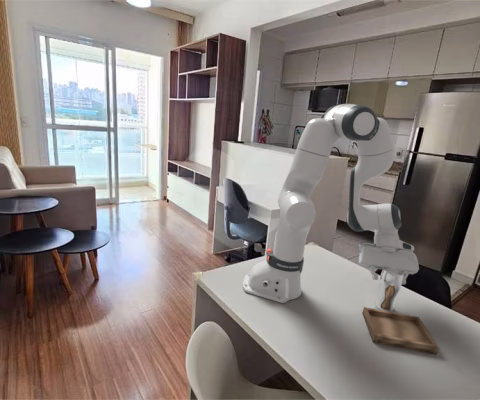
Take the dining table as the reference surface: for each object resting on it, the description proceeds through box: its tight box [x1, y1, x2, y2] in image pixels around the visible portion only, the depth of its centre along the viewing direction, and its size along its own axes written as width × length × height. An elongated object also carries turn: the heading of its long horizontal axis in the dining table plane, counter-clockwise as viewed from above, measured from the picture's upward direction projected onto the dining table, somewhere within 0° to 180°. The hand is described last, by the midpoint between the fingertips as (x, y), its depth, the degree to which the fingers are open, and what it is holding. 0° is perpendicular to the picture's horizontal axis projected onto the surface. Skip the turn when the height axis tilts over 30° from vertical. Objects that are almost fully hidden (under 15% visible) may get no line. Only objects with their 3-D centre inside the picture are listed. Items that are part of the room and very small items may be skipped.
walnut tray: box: [361, 306, 440, 355], centre depth 94 cm, size 18×14×2 cm
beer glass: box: [374, 266, 404, 312], centre depth 105 cm, size 7×7×15 cm
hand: (389, 281), depth 105 cm, fingers open, 8 cm apart
